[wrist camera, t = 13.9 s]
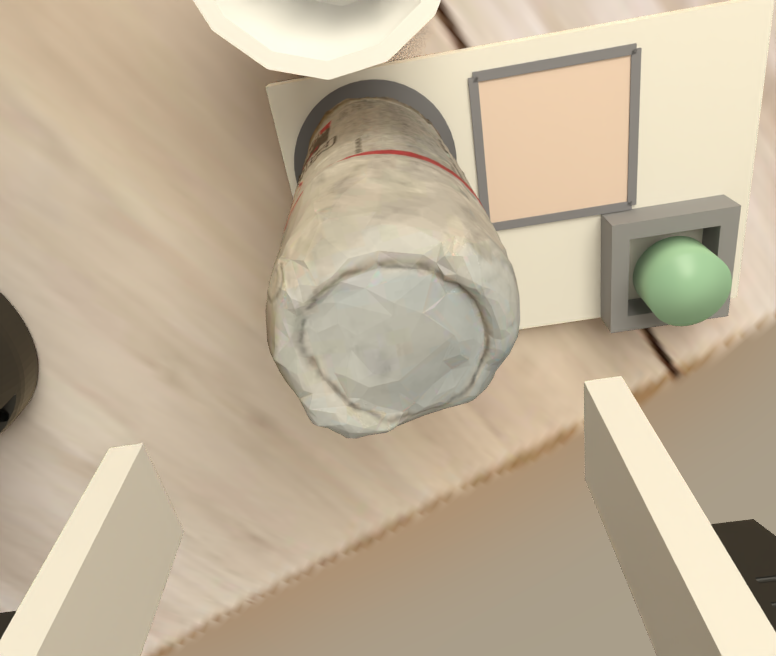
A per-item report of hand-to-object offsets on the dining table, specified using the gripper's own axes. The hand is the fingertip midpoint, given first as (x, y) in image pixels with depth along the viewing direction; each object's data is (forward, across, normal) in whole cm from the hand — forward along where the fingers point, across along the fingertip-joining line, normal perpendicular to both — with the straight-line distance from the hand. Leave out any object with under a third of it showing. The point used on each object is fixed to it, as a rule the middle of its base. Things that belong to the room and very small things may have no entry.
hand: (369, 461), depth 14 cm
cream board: (+26, +8, -4) cm, 27 cm away
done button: (+23, +16, -8) cm, 29 cm away
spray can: (+24, 0, 0) cm, 24 cm away
